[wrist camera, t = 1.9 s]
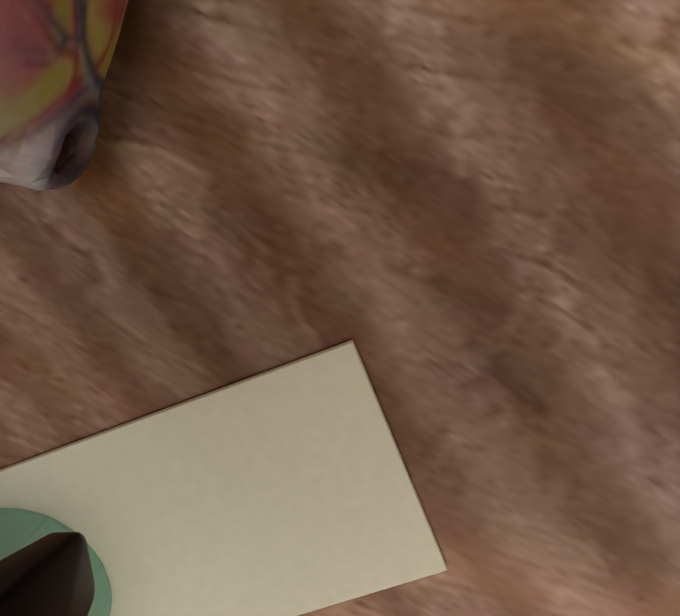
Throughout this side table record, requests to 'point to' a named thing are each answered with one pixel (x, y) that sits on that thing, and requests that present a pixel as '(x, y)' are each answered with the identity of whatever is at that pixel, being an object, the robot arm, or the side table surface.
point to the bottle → (27, 527)
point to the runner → (243, 497)
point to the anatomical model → (52, 86)
